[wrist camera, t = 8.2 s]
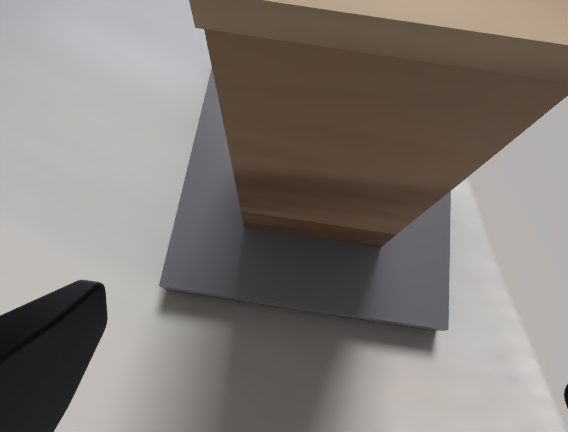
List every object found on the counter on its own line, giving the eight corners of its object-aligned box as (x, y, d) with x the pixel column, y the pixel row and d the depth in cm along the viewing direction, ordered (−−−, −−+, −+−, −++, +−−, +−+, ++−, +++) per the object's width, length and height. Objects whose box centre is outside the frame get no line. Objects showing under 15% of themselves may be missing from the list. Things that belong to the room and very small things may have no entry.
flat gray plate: (436, 330, 17) (469, 328, 14) (166, 289, 17) (146, 279, 14) (442, 98, 21) (470, 59, 18) (219, 64, 21) (211, 21, 18)
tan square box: (383, 250, 17) (634, 55, 5) (241, 229, 17) (186, -11, 5) (391, 125, 19) (590, -220, 7) (263, 106, 19) (259, -268, 7)
